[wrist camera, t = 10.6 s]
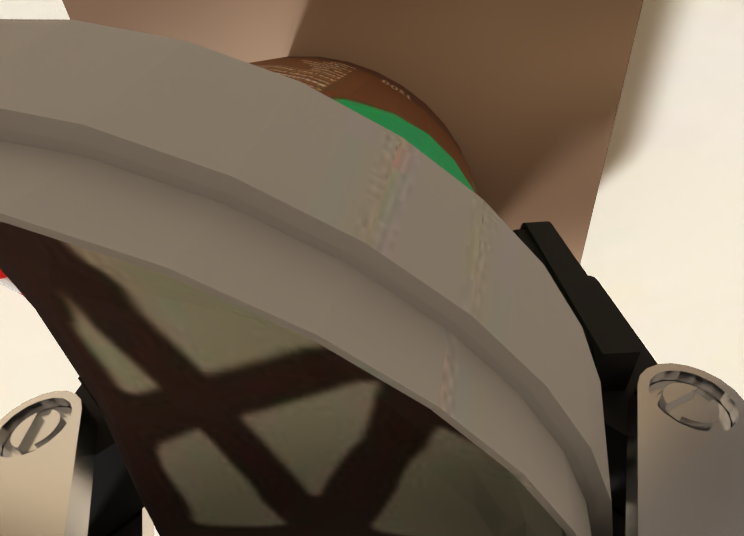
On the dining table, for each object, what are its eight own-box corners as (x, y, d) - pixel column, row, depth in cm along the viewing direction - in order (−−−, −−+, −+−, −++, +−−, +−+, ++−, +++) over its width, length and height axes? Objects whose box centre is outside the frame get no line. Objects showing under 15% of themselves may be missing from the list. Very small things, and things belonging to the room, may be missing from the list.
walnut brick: (157, -32, 15) (47, -35, 10) (566, -75, 14) (667, -102, 9) (253, 285, 23) (219, 371, 18) (517, 270, 22) (558, 356, 17)
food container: (498, 358, 16) (556, 752, 8) (340, 352, 17) (250, 698, 9) (546, -41, 9) (1410, -124, 1) (274, -13, 10) (-411, 59, 2)
